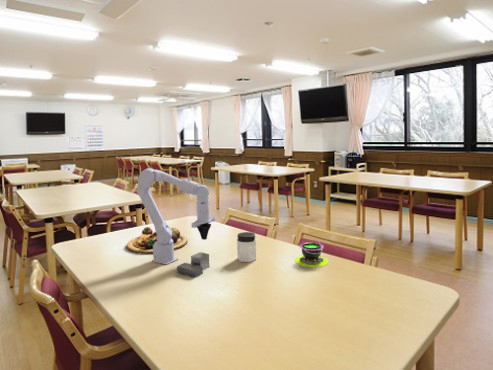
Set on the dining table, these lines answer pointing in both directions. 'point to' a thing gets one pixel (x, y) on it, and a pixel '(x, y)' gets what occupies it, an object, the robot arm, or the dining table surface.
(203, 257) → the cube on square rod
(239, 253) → the jar
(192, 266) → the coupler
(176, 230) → the wooden plate with food
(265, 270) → the dining table surface
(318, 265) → the toy cauldron
